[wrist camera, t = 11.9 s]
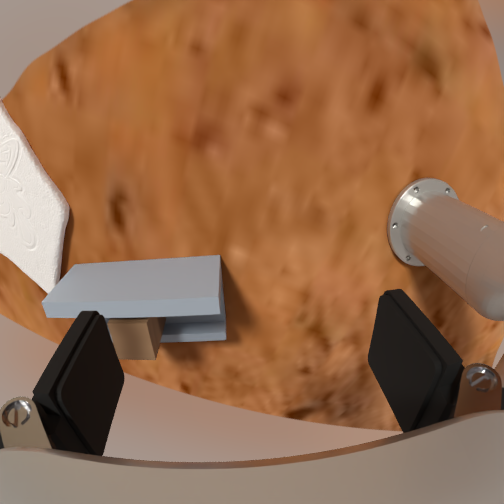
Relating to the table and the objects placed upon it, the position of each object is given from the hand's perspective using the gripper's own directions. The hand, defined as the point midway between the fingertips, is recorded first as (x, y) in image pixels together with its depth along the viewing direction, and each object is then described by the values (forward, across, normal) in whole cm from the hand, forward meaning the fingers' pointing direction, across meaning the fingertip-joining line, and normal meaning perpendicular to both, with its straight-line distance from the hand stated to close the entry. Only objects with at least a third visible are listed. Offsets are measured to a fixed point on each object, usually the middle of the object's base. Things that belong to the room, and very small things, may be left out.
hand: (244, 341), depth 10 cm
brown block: (+26, +12, +14) cm, 32 cm away
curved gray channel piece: (+28, +12, +14) cm, 34 cm away
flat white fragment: (+29, +30, -2) cm, 42 cm away
